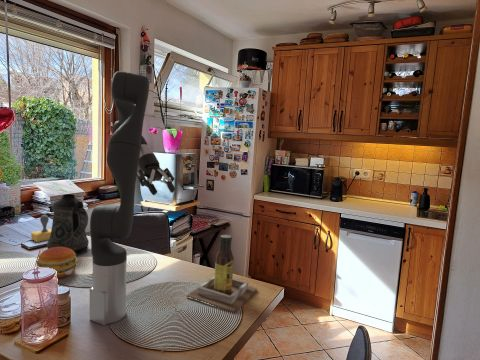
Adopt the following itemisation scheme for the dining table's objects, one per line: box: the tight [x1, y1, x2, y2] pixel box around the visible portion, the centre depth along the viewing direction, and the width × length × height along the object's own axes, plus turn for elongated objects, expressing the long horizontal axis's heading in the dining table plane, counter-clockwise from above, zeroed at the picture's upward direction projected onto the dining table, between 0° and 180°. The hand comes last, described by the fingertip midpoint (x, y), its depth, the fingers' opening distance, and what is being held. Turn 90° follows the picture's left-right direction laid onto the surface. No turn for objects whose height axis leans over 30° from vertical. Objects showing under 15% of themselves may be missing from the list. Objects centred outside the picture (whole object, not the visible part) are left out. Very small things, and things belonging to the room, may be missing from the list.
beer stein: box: [46, 193, 90, 255], centre depth 147 cm, size 16×19×25 cm
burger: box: [36, 247, 78, 279], centre depth 124 cm, size 13×14×10 cm
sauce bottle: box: [214, 234, 235, 294], centre depth 115 cm, size 7×6×20 cm
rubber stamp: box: [30, 214, 52, 243], centre depth 160 cm, size 10×6×12 cm, turn 146°
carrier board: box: [186, 275, 258, 314], centre depth 116 cm, size 18×18×4 cm
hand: (164, 192), depth 123 cm, fingers open, 8 cm apart
